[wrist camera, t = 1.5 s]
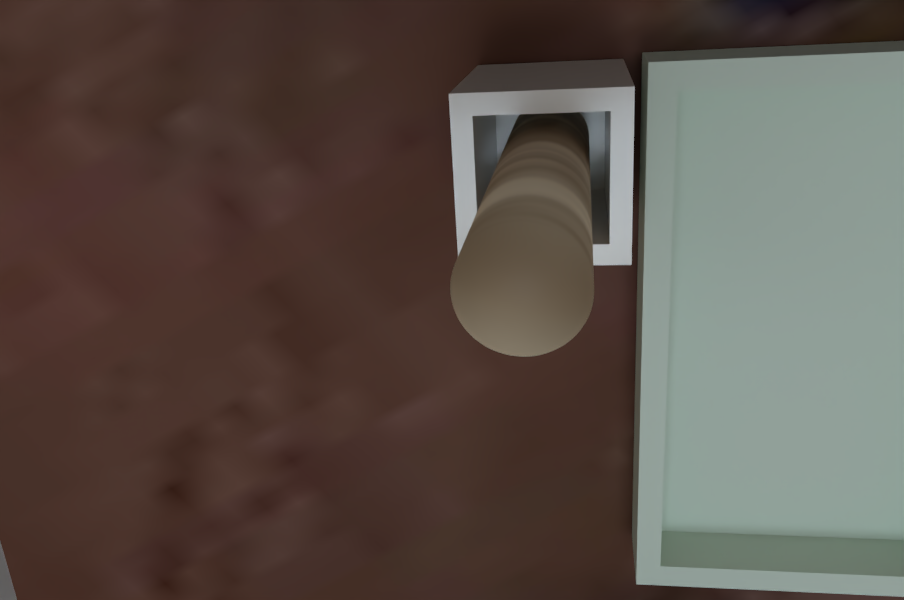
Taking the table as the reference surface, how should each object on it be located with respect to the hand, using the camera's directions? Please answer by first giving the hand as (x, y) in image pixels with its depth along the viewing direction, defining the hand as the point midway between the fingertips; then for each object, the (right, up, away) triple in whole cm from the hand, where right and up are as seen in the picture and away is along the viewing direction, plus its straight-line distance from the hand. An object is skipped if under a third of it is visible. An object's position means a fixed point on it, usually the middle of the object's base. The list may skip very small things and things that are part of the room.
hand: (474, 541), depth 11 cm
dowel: (+4, +9, +23) cm, 25 cm away
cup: (+4, +10, +24) cm, 26 cm away
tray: (+14, +2, +25) cm, 29 cm away
